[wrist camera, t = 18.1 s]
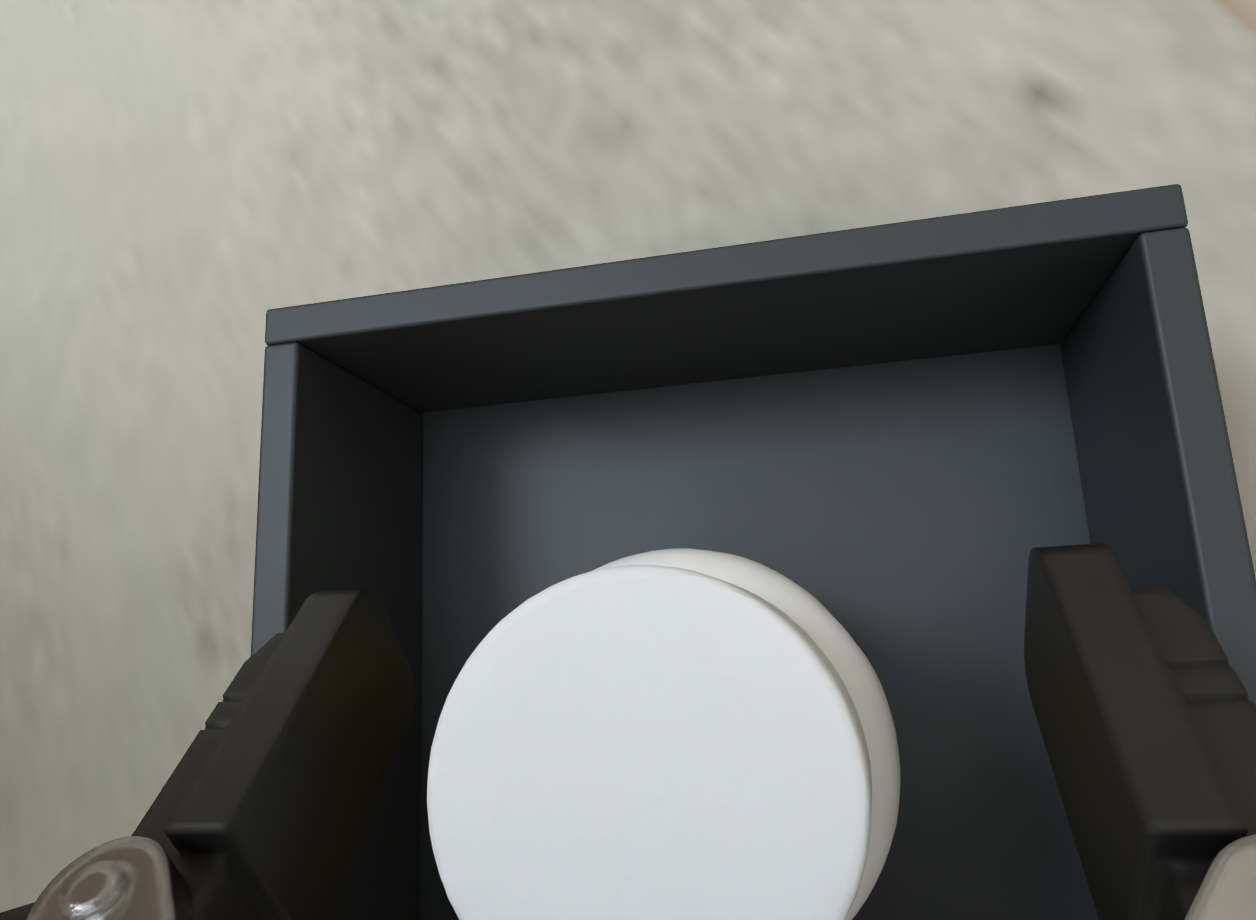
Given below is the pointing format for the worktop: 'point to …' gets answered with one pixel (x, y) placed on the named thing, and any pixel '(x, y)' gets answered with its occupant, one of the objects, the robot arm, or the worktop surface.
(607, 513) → the bin
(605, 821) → the supplement bottle
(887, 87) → the worktop surface
